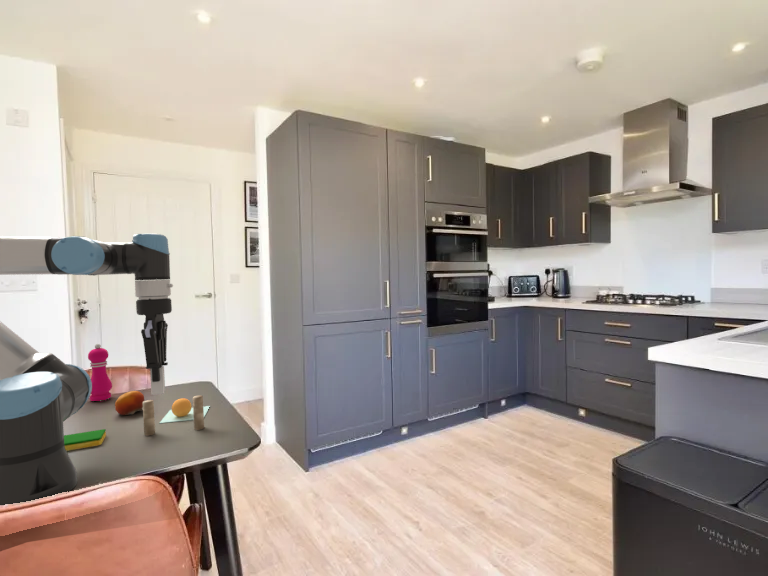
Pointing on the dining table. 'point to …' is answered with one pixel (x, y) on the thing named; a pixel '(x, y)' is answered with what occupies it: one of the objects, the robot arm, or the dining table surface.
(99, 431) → the dish sponge
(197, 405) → the right post
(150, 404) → the left post
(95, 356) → the pepper mill
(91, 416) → the dining table surface
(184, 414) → the ball
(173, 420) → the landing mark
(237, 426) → the dining table surface
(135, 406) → the fruit
